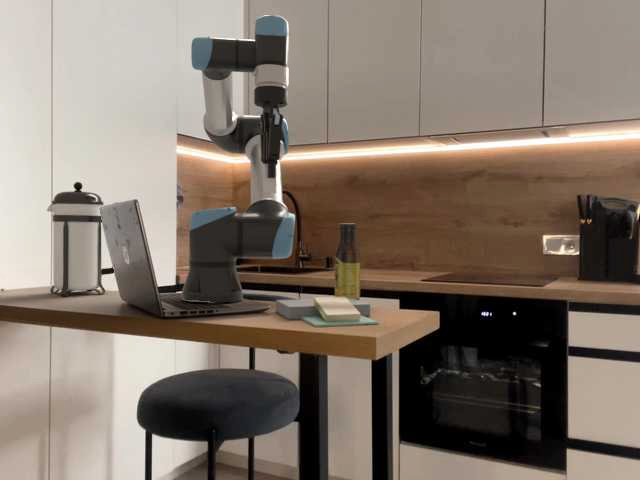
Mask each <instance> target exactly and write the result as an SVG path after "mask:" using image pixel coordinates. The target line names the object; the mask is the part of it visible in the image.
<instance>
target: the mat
mask: <svg viewBox="0 0 640 480" xmlns="http://www.w3.org/2000/svg"><path fill="white" fill-rule="evenodd" d="M301 320H303V321H305V322H306V323H308V324H310V325H311V326H313V327H315V328H317V327H318V328H319V327H320V328H321V327H339V326H340V327H342V326H361V325H362V326H363V325H365V324H368V325H379V321H378V320H374V319H372V318H369V317H368V316H362V315H361V316H360V321H342V322H326V321H325V319H324V318H323V317H322V316H305V317H301Z"/></svg>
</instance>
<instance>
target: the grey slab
mask: <svg viewBox="0 0 640 480" xmlns="http://www.w3.org/2000/svg"><path fill="white" fill-rule="evenodd" d="M347 299H348V300H349V301H350V302H351V303H352V305H353V306H354V307H355V308H356V309H357V310H358V311H359V312H360V314H361V315H362V316H364V317H370V316H371V303H368V302H365V301H362V300H360V299H359V300H356V299H353V298H347ZM313 302H314V298H310V299H309V298H307V299H304V298H303V299H300V298H299V299H276V300H275V312H276V313H278V314H280V315H282V316H283V317H285V318H286V319H288V320H297V319H298V320H299V319H301V317H305V316H322V315H321V314H320V313H319V311H318V310H317V308H316V307H315V306H314V304H313ZM301 320H302V319H301Z"/></svg>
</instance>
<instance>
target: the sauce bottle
mask: <svg viewBox="0 0 640 480" xmlns="http://www.w3.org/2000/svg"><path fill="white" fill-rule="evenodd" d="M339 230H340V237H339V243H338V245H337V249H336V252H335V254H334V297H346V298H353V299H356V300H359V301H360V297H361V253H360V252H361V251H360V249H359V246H358V245H357V243H356V241H357V239H356V230H357V223H352V222H351V223H350V222H349V223H344V222H343V223H339Z"/></svg>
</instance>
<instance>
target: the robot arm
mask: <svg viewBox="0 0 640 480" xmlns="http://www.w3.org/2000/svg"><path fill="white" fill-rule="evenodd" d="M254 24H255V25H254V39H245V38H244V39H241V38H239V39H238V38H227V37H225V38H221V37H211V36H206V37H205V36H204V37H203V36H202V37H198V36H197V37H195V38H194V37H193V39H192V41H191V47H190V48H191V50H190V51H191V52H190V53H191V57H190V59H191V66H192V68H193V69H194V70H197V71H201V77H202V86H203V96H204V106H205V113H204V115H203V117H202V118H203V120H202V122H203V129H204V131H205V133H206V136H207V137H208V138H209V140H210V141H211V142H212V143H213V144H214V145H216V147H218V148H220V149H221V150H223V151H225V152H228V153H230V154H237V155H239V154H241V155H246V158H247V159H248V160H249V161H250V205H248V206H247V208H246V210H245V212H238V209H237V207H235V206H228V207H218V208H210V209H208V208H207V209H202V210H196V211H193V212H192V213H191V215H190V217H189V228H188V232H189V250H188V251H189V252H188V253H189V258H188V263H189V264H188V267H189V268H188V272H187V275H186V279H185V281H184V284H183V288H182V289H181V300H182V299H185V300H199V301H210V302H222V303H221V304H224V303H223V302H230V303H236V302H237V303H238V302H240V301H242V300H243V299H244V298H243V296H244V295H243V293H244V291H243V289H242V285H241V281H240V278H239V275H238V272H237V259H261V260H262V259H267V260H268V259H270V260H272V259H273V260H277V259H279V260H280V259H287V258H289V257H290V256H292V252H293V243H294V235H295V234H294V232H295V226H296V225H295V224H296V214H295V213H291V212H289V209H288V207H287V205H285V203H284V200H283V186H282V185H283V184H282V170H281V168H282V167H281V161H282V159H283V158H284V155H285V156H286V155H287V154H288V153H289V150H290V135H289V126H288V123H287V120H286V119H285V118H284V115H283V114H281V113H280V109H283V108H286V107H287V106H288V103H289V102H288V99H289V98H288V97H289V96H288V95H289V94H288V93H289V90H288V89H287V88H288V87H289V65H288V62H289V60H288V59H289V36H290V33H289V22H288V21H287V19H286V18H284V17H282V16H280V15H273V14H271V15H269V14H268V15H262V16H259V17H258V18H257V19H256V20H255V23H254ZM233 72H234V73H251V75H252V76H253V77H254V86H255V88H254V90H253V92H254V94H253V103H254V106H257V107H259V108H262V113H261V114H260V115H254V114H253V115H251V114H249V115H248V114H235V112H234V97H233V90H234V87H233V85H234V84H233Z"/></svg>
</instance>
